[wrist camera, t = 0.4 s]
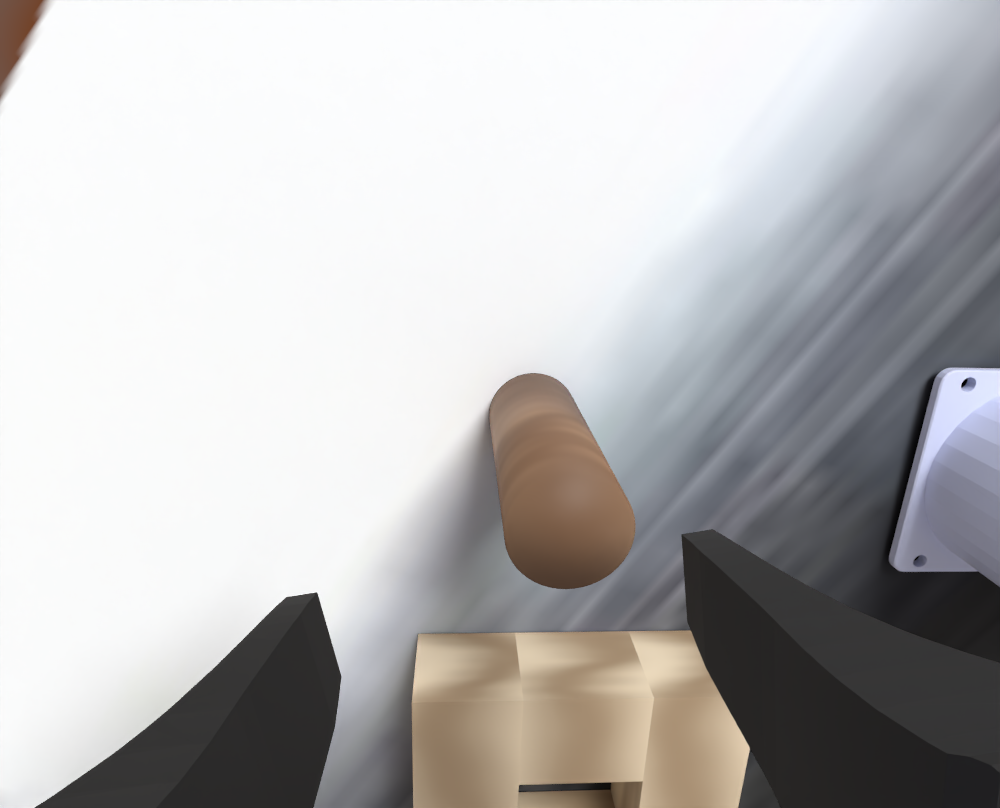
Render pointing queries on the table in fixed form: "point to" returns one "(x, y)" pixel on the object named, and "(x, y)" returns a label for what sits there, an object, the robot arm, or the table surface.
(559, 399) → the peg
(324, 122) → the table surface
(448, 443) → the table surface
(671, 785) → the holder block
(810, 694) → the robot arm
